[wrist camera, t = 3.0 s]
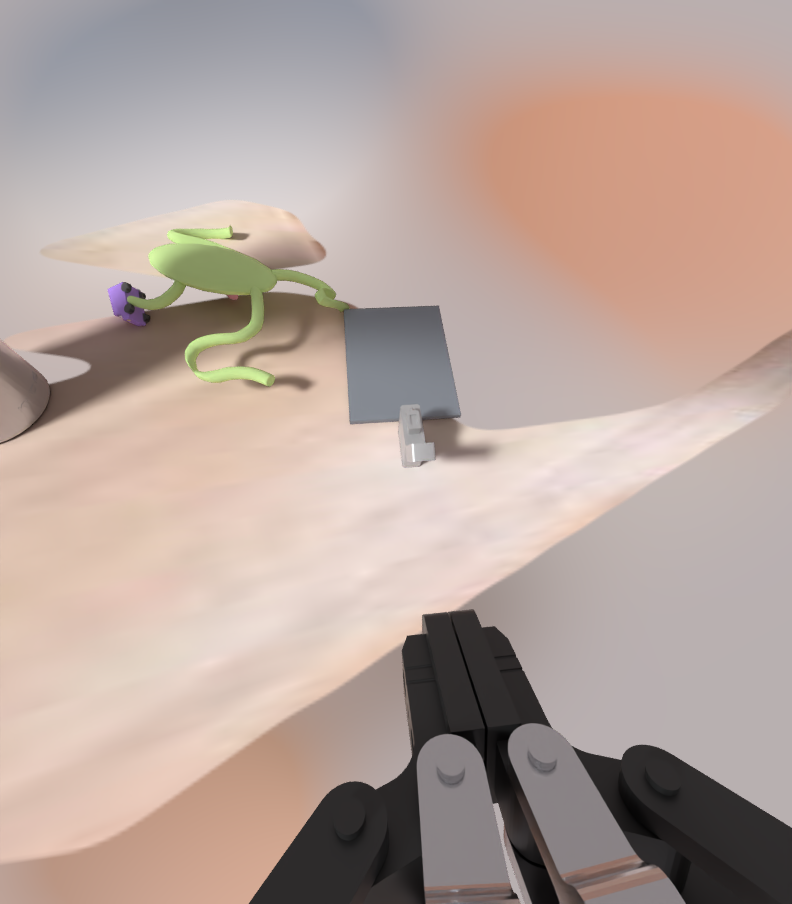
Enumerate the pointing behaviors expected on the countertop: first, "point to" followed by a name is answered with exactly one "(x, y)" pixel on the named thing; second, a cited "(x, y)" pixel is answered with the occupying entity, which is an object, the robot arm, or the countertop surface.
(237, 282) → the figurine
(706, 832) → the robot arm
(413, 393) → the slate pad
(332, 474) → the countertop surface
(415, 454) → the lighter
